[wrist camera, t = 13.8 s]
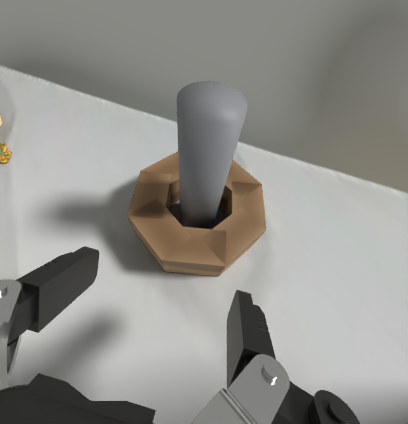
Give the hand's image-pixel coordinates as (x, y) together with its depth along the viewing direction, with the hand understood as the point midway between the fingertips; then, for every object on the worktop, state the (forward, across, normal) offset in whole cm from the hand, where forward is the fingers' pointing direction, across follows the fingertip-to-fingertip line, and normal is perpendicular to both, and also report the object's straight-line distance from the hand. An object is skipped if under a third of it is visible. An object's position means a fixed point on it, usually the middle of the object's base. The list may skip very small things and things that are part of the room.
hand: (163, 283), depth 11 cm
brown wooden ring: (+13, 0, 0) cm, 13 cm away
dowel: (+13, 0, 0) cm, 13 cm away
